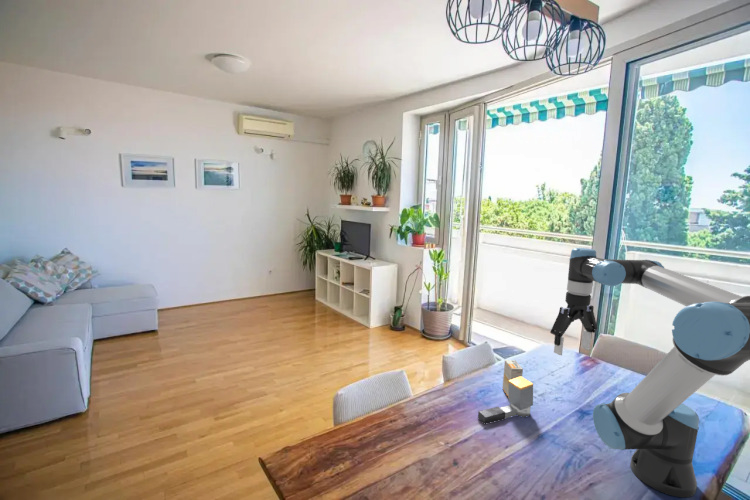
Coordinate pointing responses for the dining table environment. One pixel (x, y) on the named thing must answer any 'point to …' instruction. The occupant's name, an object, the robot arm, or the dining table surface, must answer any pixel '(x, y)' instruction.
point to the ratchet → (502, 413)
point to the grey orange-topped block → (520, 392)
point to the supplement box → (510, 373)
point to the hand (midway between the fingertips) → (571, 351)
